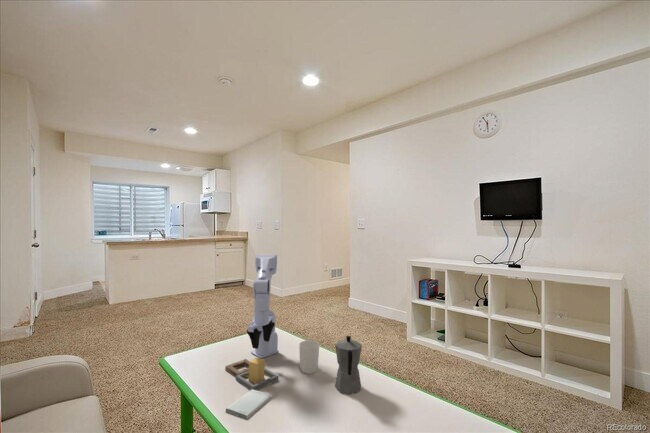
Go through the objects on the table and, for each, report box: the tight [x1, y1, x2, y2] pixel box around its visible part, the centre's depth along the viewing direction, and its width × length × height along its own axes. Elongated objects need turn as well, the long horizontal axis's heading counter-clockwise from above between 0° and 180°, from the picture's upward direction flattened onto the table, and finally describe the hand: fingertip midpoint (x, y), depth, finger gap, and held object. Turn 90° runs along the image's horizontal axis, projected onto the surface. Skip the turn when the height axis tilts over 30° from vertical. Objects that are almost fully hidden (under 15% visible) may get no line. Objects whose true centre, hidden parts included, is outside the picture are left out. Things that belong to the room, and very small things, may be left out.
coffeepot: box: [334, 335, 363, 395], centre depth 109 cm, size 15×9×18 cm, turn 179°
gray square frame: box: [235, 367, 279, 391], centre depth 114 cm, size 11×11×2 cm
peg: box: [248, 357, 266, 384], centre depth 114 cm, size 4×4×7 cm
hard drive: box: [225, 389, 272, 420], centre depth 99 cm, size 2×8×12 cm
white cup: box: [298, 339, 320, 374], centre depth 123 cm, size 8×8×10 cm
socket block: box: [224, 358, 250, 378], centre depth 121 cm, size 9×9×2 cm
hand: (261, 344), depth 123 cm, fingers open, 7 cm apart
